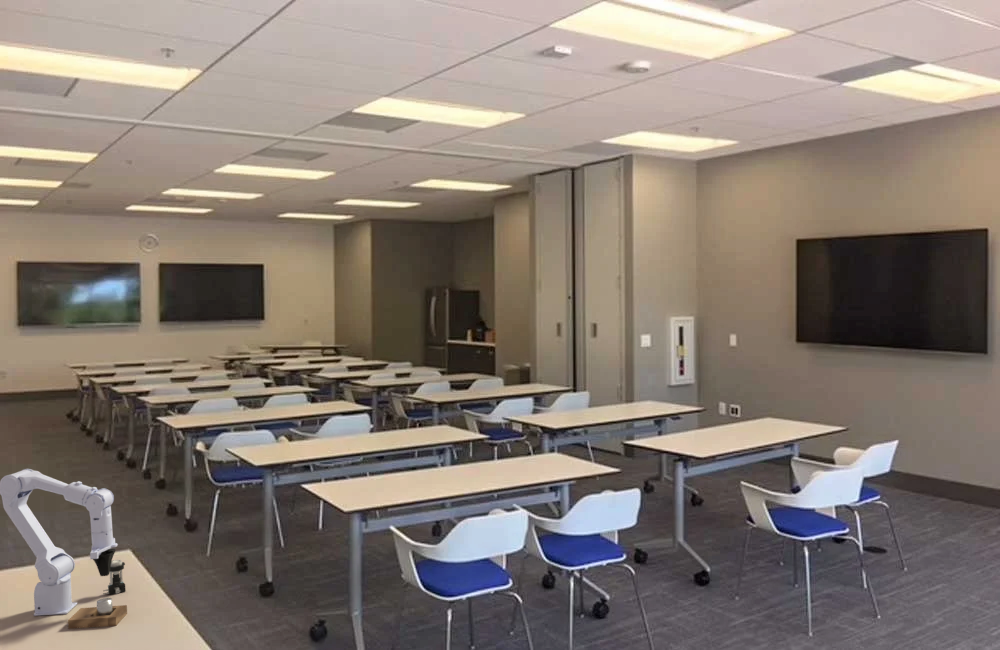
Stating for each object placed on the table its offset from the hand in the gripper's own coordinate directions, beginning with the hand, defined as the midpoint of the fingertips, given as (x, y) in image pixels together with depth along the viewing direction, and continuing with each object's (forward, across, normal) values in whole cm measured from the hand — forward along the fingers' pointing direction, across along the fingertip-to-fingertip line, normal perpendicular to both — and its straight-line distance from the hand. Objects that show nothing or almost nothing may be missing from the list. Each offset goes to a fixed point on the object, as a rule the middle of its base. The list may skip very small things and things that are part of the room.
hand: (104, 575), depth 243 cm
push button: (+10, +14, +3) cm, 18 cm away
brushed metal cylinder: (+10, -9, -3) cm, 14 cm away
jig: (+10, -9, 0) cm, 14 cm away
